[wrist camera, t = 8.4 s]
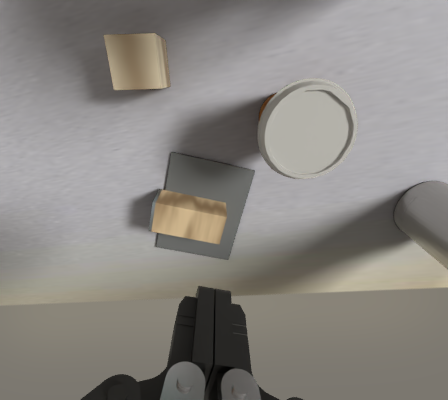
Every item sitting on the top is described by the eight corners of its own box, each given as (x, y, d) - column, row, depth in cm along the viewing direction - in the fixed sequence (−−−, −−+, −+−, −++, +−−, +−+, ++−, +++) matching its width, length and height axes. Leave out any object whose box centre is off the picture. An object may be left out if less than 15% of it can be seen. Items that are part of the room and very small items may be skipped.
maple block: (165, 40, 32) (154, 33, 26) (170, 86, 34) (161, 88, 28) (123, 41, 31) (103, 34, 26) (130, 87, 34) (113, 90, 28)
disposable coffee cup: (326, 133, 36) (373, 158, 26) (262, 162, 38) (280, 197, 27) (305, 63, 33) (349, 56, 22) (234, 98, 34) (242, 109, 23)
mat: (254, 170, 38) (254, 171, 38) (228, 258, 45) (228, 259, 45) (171, 151, 37) (171, 152, 37) (156, 245, 44) (156, 246, 43)
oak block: (159, 188, 39) (225, 202, 40) (155, 215, 41) (219, 227, 42) (152, 202, 35) (226, 217, 36) (148, 230, 37) (219, 244, 38)
